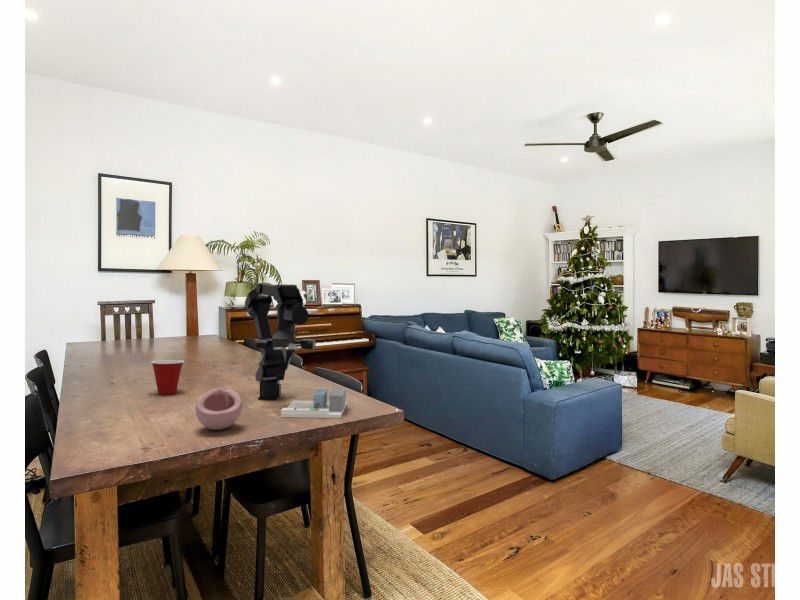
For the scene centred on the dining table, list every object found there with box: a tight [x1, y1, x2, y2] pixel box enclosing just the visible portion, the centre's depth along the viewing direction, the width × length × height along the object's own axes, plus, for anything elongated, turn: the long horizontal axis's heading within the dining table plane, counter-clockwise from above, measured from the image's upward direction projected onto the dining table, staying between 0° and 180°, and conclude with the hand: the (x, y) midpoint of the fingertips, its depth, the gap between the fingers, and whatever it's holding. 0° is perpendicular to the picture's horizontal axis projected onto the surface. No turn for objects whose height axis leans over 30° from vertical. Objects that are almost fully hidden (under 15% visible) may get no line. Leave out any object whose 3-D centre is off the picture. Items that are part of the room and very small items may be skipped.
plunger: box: [313, 388, 328, 409], centre depth 143 cm, size 3×12×5 cm, turn 0°
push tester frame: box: [280, 388, 348, 419], centre depth 145 cm, size 18×16×6 cm
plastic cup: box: [150, 359, 185, 396], centre depth 164 cm, size 11×11×12 cm
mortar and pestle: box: [194, 387, 243, 431], centre depth 125 cm, size 12×12×11 cm
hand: (285, 369), depth 150 cm, fingers closed
